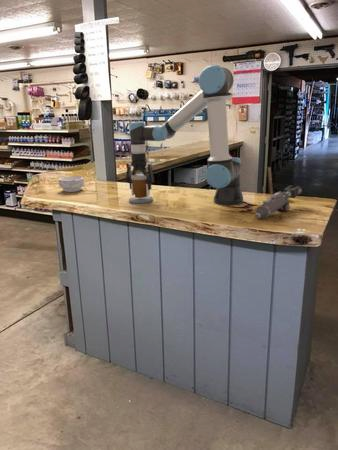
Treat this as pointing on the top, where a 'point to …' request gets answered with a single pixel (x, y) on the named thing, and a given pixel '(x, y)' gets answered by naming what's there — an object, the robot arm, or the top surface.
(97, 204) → the top surface
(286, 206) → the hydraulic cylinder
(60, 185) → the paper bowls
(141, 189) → the disposable coffee cup
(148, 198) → the slate dish
